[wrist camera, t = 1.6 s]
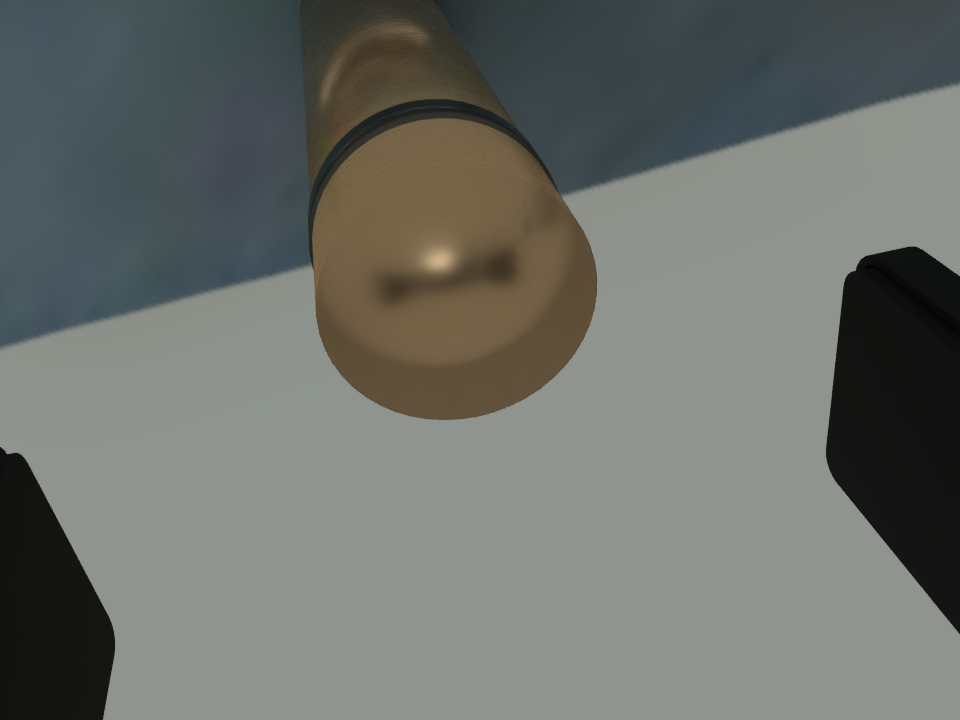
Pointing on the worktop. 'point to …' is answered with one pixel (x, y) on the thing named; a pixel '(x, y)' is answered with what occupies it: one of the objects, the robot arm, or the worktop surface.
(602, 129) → the worktop surface
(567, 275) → the thermos bottle
